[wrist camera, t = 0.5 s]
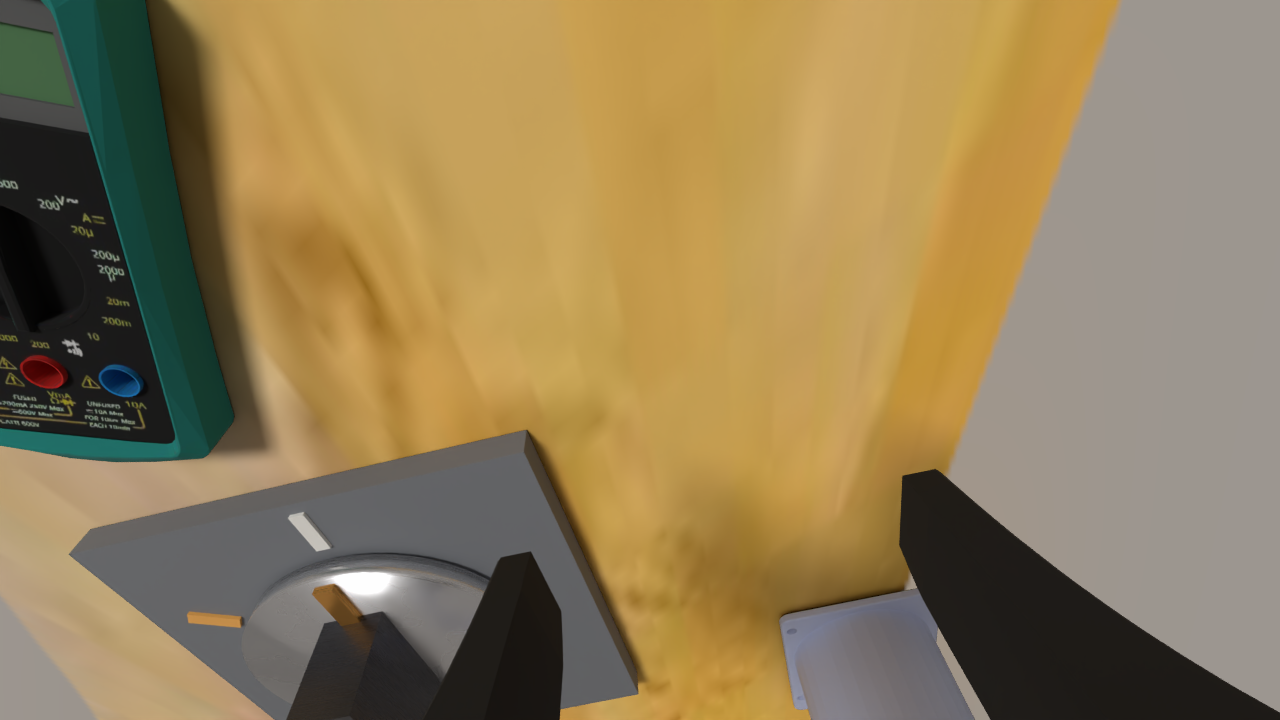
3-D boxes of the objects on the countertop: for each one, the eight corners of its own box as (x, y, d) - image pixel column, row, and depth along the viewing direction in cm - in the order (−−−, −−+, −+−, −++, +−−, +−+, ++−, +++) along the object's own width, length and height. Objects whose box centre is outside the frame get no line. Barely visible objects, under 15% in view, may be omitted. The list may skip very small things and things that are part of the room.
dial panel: (636, 671, 32) (638, 697, 31) (327, 731, 34) (318, 758, 33) (526, 429, 22) (523, 454, 21) (90, 529, 24) (65, 558, 22)
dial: (566, 680, 30) (563, 797, 26) (341, 724, 31) (303, 844, 27) (474, 527, 23) (450, 652, 19) (189, 589, 24) (106, 721, 20)
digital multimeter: (15, 404, 21) (-60, 464, 18) (-235, -140, 13) (-430, -162, 10) (246, 427, 22) (205, 486, 20) (152, -53, 14) (61, -54, 12)
